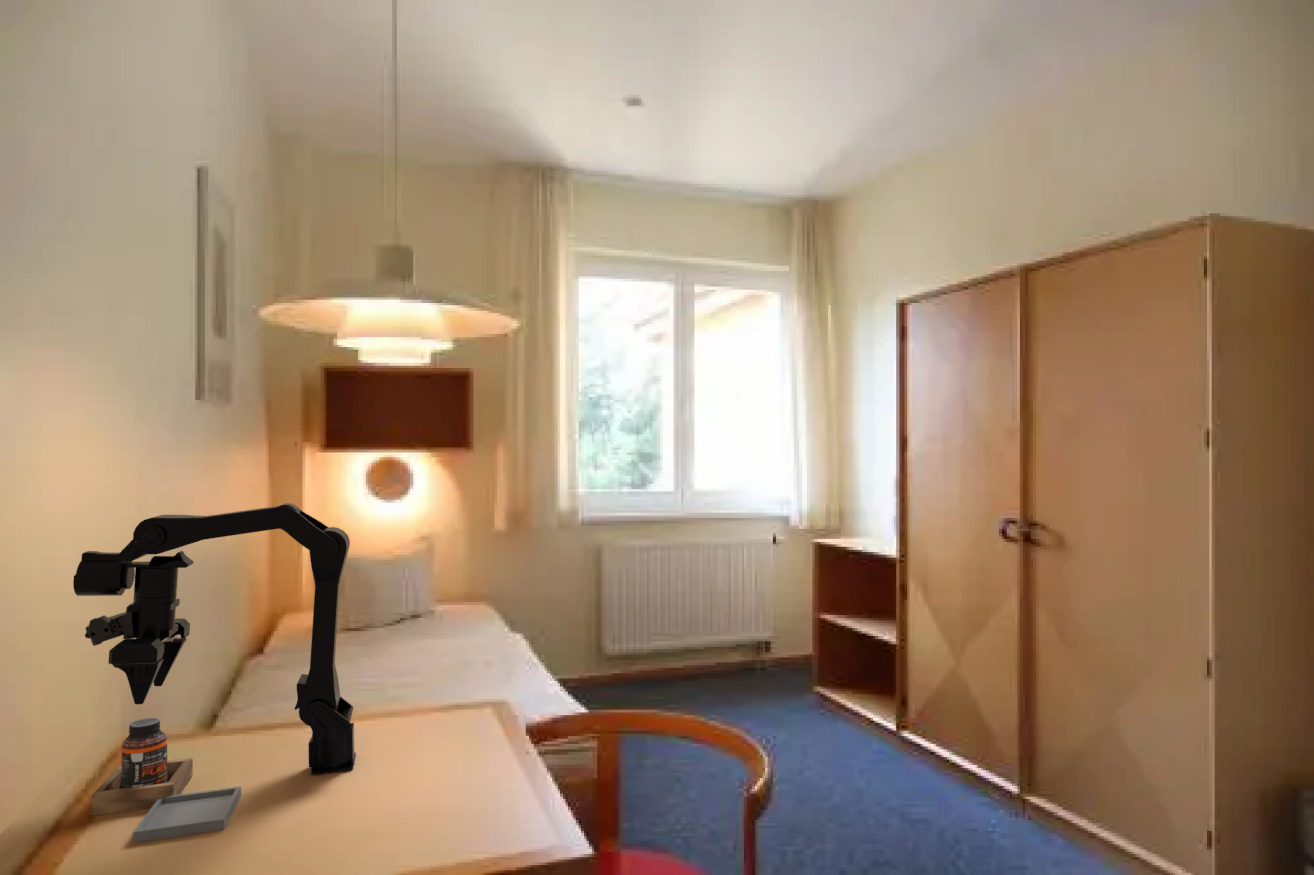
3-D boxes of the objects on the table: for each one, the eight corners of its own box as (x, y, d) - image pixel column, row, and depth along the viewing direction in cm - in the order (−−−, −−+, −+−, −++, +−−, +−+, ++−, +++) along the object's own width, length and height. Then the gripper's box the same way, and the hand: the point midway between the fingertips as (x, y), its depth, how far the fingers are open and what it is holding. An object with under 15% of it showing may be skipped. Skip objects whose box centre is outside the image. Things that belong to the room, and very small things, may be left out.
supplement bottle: (145, 805, 117) (143, 730, 117) (111, 802, 118) (110, 727, 118) (177, 787, 123) (176, 716, 123) (145, 785, 124) (144, 714, 124)
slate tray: (241, 796, 119) (241, 786, 119) (223, 830, 109) (223, 819, 109) (159, 807, 116) (159, 797, 116) (133, 843, 106) (133, 832, 106)
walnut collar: (192, 776, 127) (192, 757, 127) (173, 804, 117) (173, 784, 117) (118, 785, 124) (118, 766, 124) (91, 815, 114) (91, 795, 114)
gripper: (117, 585, 129) (111, 679, 129) (70, 607, 111) (62, 717, 111) (193, 585, 132) (187, 677, 132) (159, 606, 115) (152, 713, 114)
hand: (148, 694), depth 122 cm, fingers open, 9 cm apart
